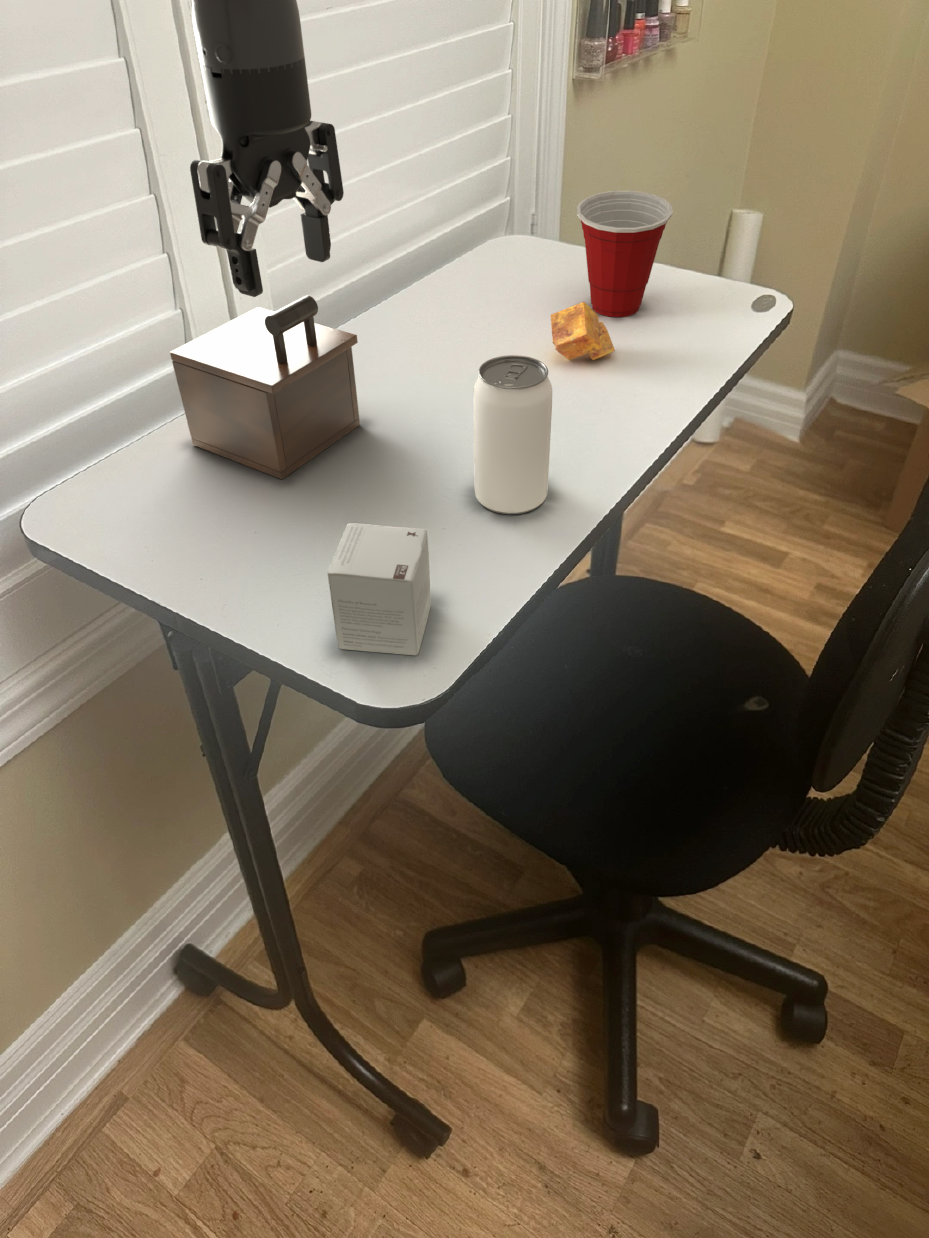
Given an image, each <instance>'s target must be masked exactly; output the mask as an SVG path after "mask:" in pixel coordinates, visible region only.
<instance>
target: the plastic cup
mask: <svg viewBox="0 0 929 1238" xmlns="http://www.w3.org/2000/svg"><path fill="white" fill-rule="evenodd" d="M673 214H674V211H673V204H671V203H670V202H669V201H668V200H667V199H665V198H664V197H662V196H659V195H657V194H653V193H651V192H646V191H639V190H635V189H633V190H632V189H627V190H626V189H625V190H623V189H622V190H621V189H619V190H618V189H617V190H615V189H614V190H609V191H602V192H596V193H594V194H592V195H590V196H587V197H585V198H583V199H582V200H581V201H580V202H579V203H578V204H577V205H576V215H577V218H578V219H579V221H580V224H581V229H582V231H583V233H582V234H583V239H584V244H585V246H584V247H585V256H586V257H585V258H586V268H587V276H588V278H587V279H588V283H589V292H590V293H589V295H590V304H591V309H592V310H593V311H594V312H595V313H596V314H599V315H601V316H605V317H610V318H623V317H630V316H632V315H634V314H637V312H638V311H639V310H640V306H642V303H643V299H644V295H645V292H646V287H647V285H648V283H649V280H650V276H651V274H652V269H653V266H654V262H655V259H656V256H657V252H658V249H659V245H660V241H661V239H662V237H663V234H664V231H665V229H666V225H667V224H668V221H669V220H670V219H671V218H672V216H673Z"/></svg>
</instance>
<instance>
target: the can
mask: <svg viewBox="0 0 929 1238" xmlns="http://www.w3.org/2000/svg"><path fill="white" fill-rule="evenodd" d="M552 413H553V385H552V383H551V380H550V378H549V368H548V366H547V365H546V364H545V363H543V362H542V361H541V360H539V359H536V358H534V357H531V356H526V355H517V354H515V355H514V354H509V355H501V356H500V355H499V356H496V357H493V358H490V359H488V360H486V361H484V362H483V363H482V364H481V365H480V366H479V368H478V377H477V379H476V381H475V383H474V387H473V467H474V468H473V471H474V473H473V475H474V477H473V478H474V479H473V480H474V495H475V498H476V500H477V502H479V504H481V505H482V506H483V507H484V508H486V509H487V510H489V511H490V512H493V513H497V514H502V515H520V514H521V515H522V514H526V513H529V512H531V511H533V510H535V509H537V508H538V507H539V506H540V505H541V504H543V503H544V501H545V500H546V499H547V496H548V487H549V473H550V453H551V436H552V435H551V433H552Z"/></svg>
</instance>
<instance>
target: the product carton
mask: <svg viewBox="0 0 929 1238" xmlns="http://www.w3.org/2000/svg"><path fill="white" fill-rule="evenodd" d="M430 573H431V572H430V554H429V538H428V529H426V528H414V527H402V526H401V527H399V526H389V525H378V524H369V523H368V524H367V523H359V522H358V523H355V522H348V523H347V524H346V526H345V529H344V531H343V533H342V536H341V539H340V541H339V544H338V546H337V548H336V551H335V553H334V555H333V558H332V560H331V563H330V566H329V568H328V570H327V578H328V585H329V593H330V601H331V607H332V616H333V622H334V628H335V629H334V630H335V636H336V642H337V647H338V648H339V649H341V650H347V651H348V650H349V651H357V652H358V651H360V652H370V653H383V654H396V655H404V656H405V655H406V656H418V655H419V653H420V649H421V645H422V642H423V638H424V634H425V630H426V626H427V623H428V619H429V615H430V609H431V606H432V605H431V604H432V591H431V574H430Z"/></svg>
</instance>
